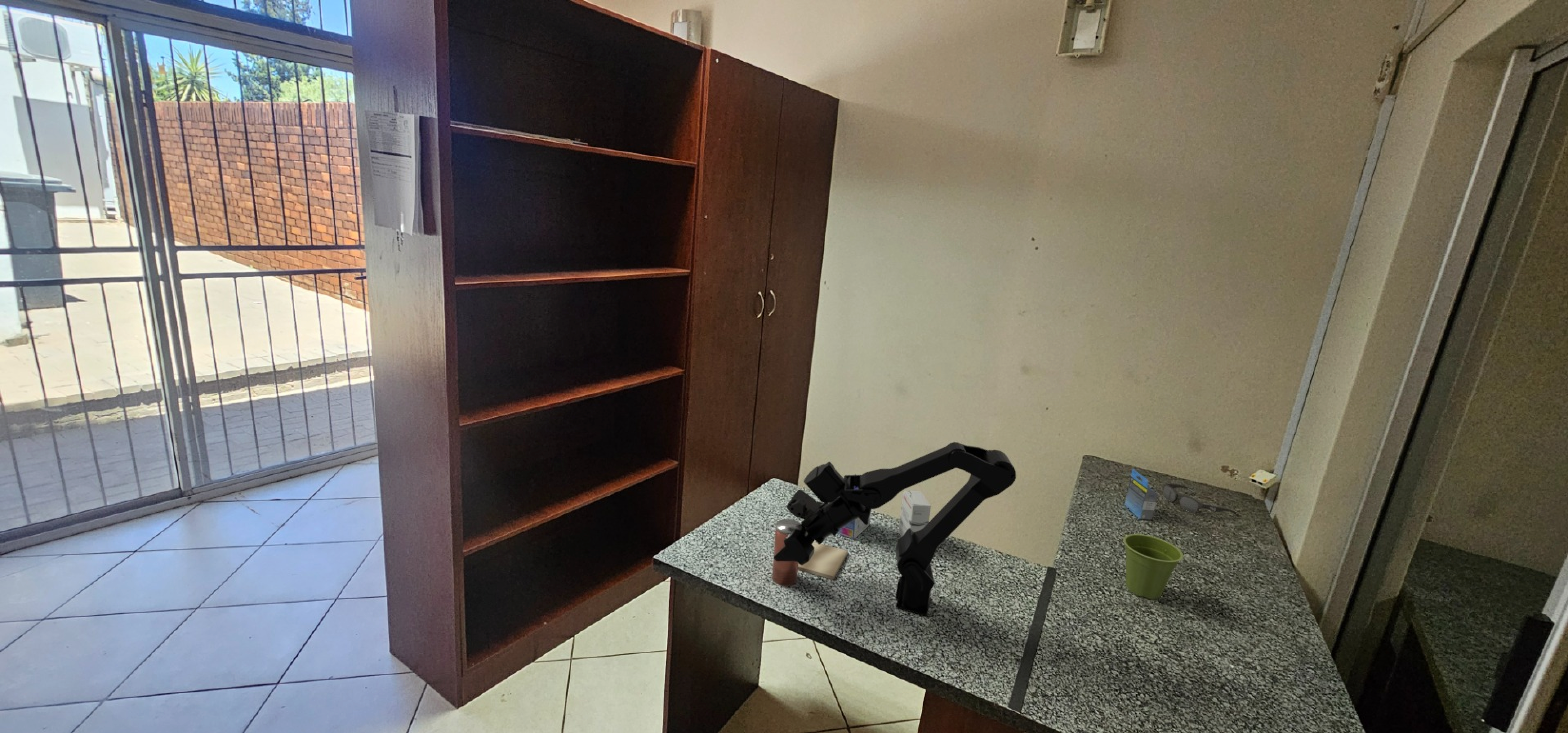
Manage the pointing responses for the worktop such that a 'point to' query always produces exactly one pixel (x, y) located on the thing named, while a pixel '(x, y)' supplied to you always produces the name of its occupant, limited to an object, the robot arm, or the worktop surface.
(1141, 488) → the label tape cartridge
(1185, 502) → the sunglasses
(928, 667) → the worktop surface
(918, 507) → the ink box
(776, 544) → the tin
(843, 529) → the ink cartridge box
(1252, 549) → the worktop surface
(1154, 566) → the plant pot
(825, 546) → the coaster
